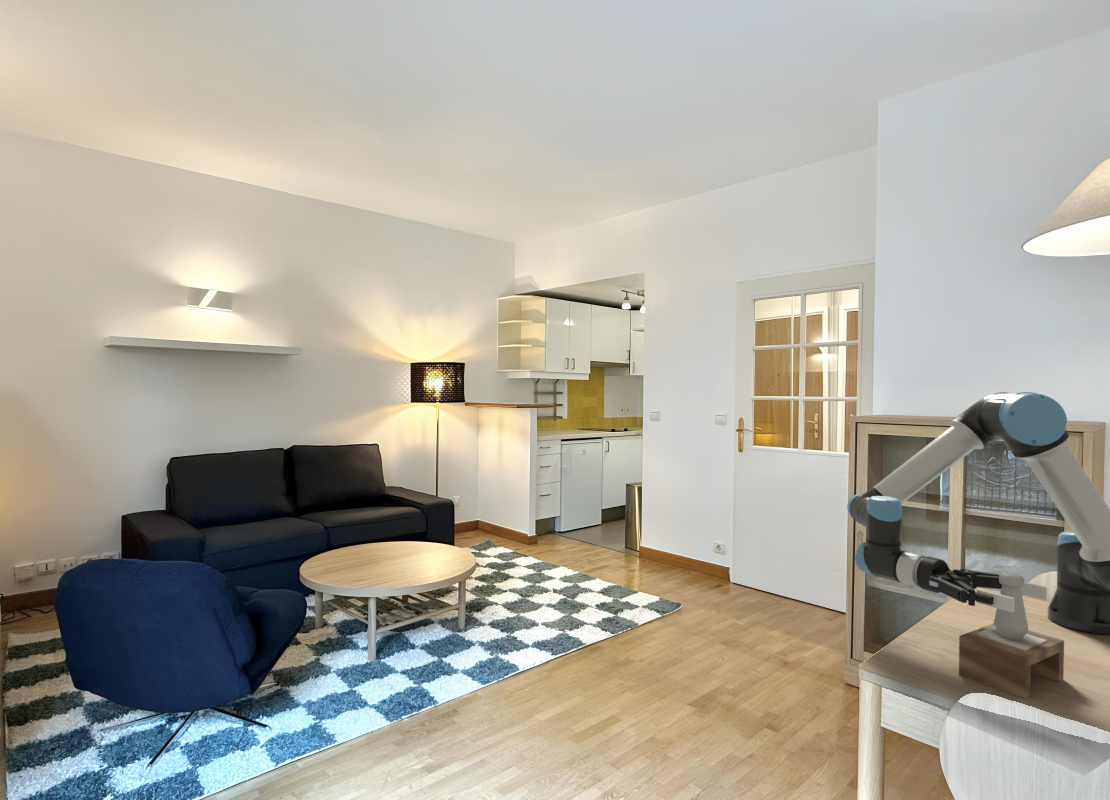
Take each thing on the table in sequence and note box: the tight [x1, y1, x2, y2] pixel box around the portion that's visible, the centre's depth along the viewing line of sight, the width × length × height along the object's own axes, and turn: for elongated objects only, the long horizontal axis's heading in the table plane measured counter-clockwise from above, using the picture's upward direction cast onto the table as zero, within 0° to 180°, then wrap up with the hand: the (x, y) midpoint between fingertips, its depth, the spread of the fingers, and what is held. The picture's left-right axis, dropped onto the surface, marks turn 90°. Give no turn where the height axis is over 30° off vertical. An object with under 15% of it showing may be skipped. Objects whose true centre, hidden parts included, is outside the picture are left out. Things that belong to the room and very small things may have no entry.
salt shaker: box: [993, 571, 1029, 641], centre depth 129 cm, size 6×6×13 cm
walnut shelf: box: [958, 622, 1065, 699], centre depth 130 cm, size 16×12×8 cm
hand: (1030, 599), depth 127 cm, fingers open, 13 cm apart
